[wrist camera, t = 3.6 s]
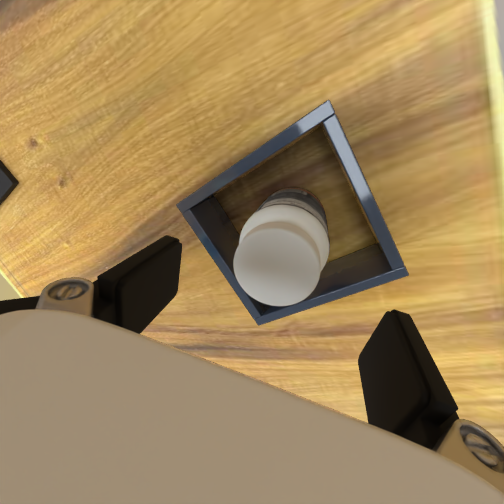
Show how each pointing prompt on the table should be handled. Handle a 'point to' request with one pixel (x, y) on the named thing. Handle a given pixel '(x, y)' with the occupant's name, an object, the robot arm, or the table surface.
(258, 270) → the pill bottle
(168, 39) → the table surface
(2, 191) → the mat
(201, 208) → the caddy
